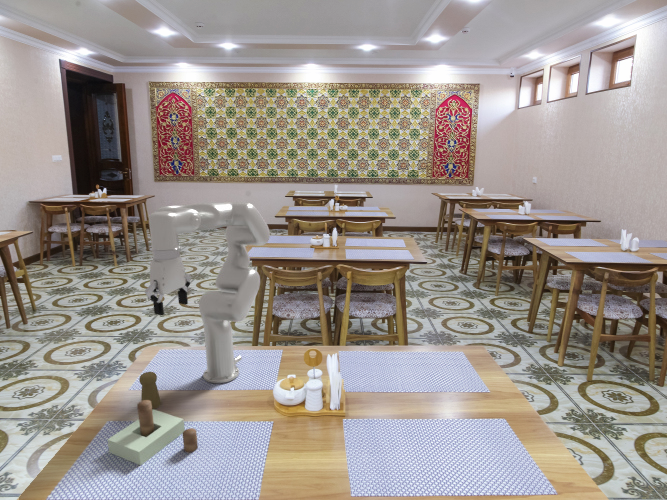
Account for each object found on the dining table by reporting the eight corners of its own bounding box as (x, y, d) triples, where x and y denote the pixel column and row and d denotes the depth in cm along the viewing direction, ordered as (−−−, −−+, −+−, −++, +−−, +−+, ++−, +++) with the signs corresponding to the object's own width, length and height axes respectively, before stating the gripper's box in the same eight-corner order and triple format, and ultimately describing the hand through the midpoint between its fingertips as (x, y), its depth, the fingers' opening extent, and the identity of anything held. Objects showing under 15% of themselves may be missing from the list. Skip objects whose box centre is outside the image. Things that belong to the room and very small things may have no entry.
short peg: (190, 442, 130) (189, 427, 129) (200, 446, 129) (199, 430, 128) (181, 450, 127) (179, 434, 126) (191, 454, 126) (189, 437, 124)
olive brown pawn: (154, 411, 146) (150, 379, 143) (137, 409, 147) (133, 377, 144) (164, 400, 152) (161, 370, 149) (148, 398, 153) (144, 368, 150)
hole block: (154, 421, 141) (153, 409, 140) (184, 431, 135) (183, 419, 134) (109, 452, 127) (107, 439, 126) (140, 465, 121) (139, 452, 120)
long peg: (149, 436, 133) (144, 398, 131) (158, 439, 132) (154, 401, 129) (139, 443, 130) (134, 405, 127) (148, 446, 129) (143, 408, 126)
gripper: (178, 246, 145) (183, 298, 149) (133, 259, 130) (139, 316, 134) (196, 248, 142) (201, 301, 146) (152, 262, 127) (158, 320, 131)
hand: (171, 308), depth 140 cm, fingers open, 9 cm apart
